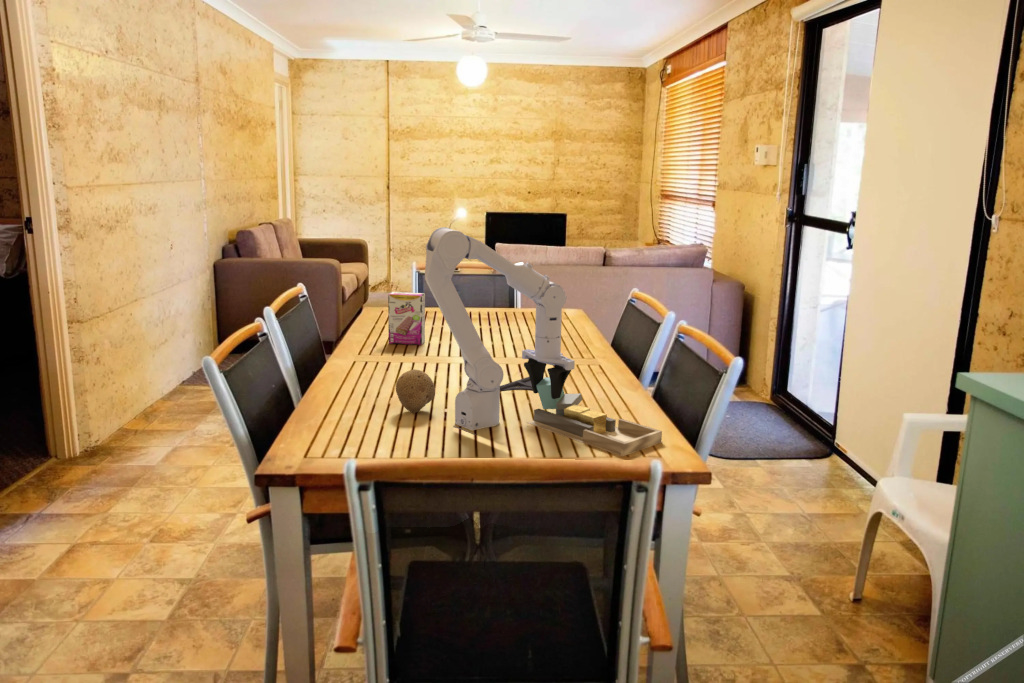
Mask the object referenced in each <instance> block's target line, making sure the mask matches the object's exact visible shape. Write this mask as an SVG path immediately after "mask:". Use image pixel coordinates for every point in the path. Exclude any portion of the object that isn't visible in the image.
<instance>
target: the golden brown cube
mask: <svg viewBox="0 0 1024 683" xmlns="http://www.w3.org/2000/svg"><path fill="white" fill-rule="evenodd" d="M590 410H591V408H590V407H585V406H581V405H579V404H578V405H573V406H570V407H568V408H565V409H564V417H566V418H570V419H573V420H576V421H580V413H583V412H587V411H590Z"/></svg>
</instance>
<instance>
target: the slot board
mask: <svg viewBox="0 0 1024 683" xmlns="http://www.w3.org/2000/svg"><path fill="white" fill-rule="evenodd" d="M616 421H618V423H617V424H616ZM526 424H529V425H531V426H535V427H538V428H540V429H543V430H546V431H549V432H551V433H554V434H557V435H560V436H563V437H566V438H569V439H572V440H574V441H577V442H580V443H583V444H586V445H589V446H591V447H594V448H597V449H600V450H603V451H606V452H609V453H611V454H614V455H617V456H620V457H624V456H627V455H630V454H633V453H636V452H640V451H642V450H644V449H648V448H650V447H653V446H656V445H659V444H661V443H663V441H662V439H663V431H662V430H659V429H656V428H652V427H650V426H647V425H643V424H641V423H636V422H633V421H630V420H627V419H624V418H619V419H618V420H616V419H614V418H612V417H608V416H606V432H605V433H602V434H598V433H595V432H594V426H591V425H588V424H585V423H582V422H579V421H576V420H573V419H570V418H566V417H564V410H558V409H555V413H554V412H552V411H547V410H546V409H541V408H537V409H534V410H533V420H531V421H527V422H526ZM616 425H617V426H616Z"/></svg>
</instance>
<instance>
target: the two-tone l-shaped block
mask: <svg viewBox="0 0 1024 683" xmlns="http://www.w3.org/2000/svg"><path fill="white" fill-rule="evenodd" d="M536 386H537V390H538V393H537V394H538V395H539V399H540V402H541V406H542V408H543V409H542V410H556V409H558V410H564V409H565V408H568V407H570V406H573V405H578V406H579V404H580V403H581V402H582V401H583V400H584V399H583V397H582V393H565V390H564V388H563V389H562V392H561V396H560V398H557V399H552V397H551V382H550V377H547V376H546V377H545V376H544V377H543V379H542V380H541V381H540V382H539V383H538V384H537V385H536Z"/></svg>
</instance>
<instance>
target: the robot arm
mask: <svg viewBox="0 0 1024 683" xmlns="http://www.w3.org/2000/svg"><path fill="white" fill-rule="evenodd" d="M425 251H426V252H425V253H426V254H425V255H426V256H425V259H426V260H425V266H424V268H425V269H424V280H425V282H426V284H427V286H428V289H429V291H430V292H431V294H432V296H433V298H434V301H435V302H436V304H437V306H438V307H439V310H440V311H441V313H442V316H443V318H444V321H446V324H447V326H448V328H449V330H450V331H451V333H452V336H453V338H454V340H455V341H456V343H457V345H458V347H459V349H460V353H461V357H462V359H463V366H464V367H463V368H464V373H465V374H466V376H467V377H468V380H467V383H466V387H465V388H464V390H462V391H459V392H458V393H457V394H456V396H455V400H454V424H455V425H453V427H454V428H457V429H458V430H461V431H464V432H467V433H468V434H469V433H470V434H471V435H475V436H476V435H477V434H476V433H473V432H470V431H475V430H480V429H483V428H484V429H485V428H492V427H495V426H497V425H499V424H500V404H501V403H500V402H501V401H500V400H501V398H500V396H501V394H500V393H501V389H500V386H501V384H502V382H503V380H504V370H503V368H502V367H501V365H500V364H499V363H498V362H496V361H495V360H494V359H493V358H492V354H490V352H489V351H488V349H487V348H486V346H485V345H484V344H483V342H482V340H481V338H480V335H479V333H478V331H477V328H475V325H474V324H473V323H474V322H473V321H472V319H471V317H470V315H469V314H468V311H467V309H466V307H465V305H464V303H463V301H462V299H461V297H460V295H459V293H458V291H457V288H456V286H455V285H454V282H453V280H452V277H453V276H454V273H455V271H456V269H457V267H458V266H459V265H460V263H462V261H463V260H464V259H466V260H478V261H480V263H483V264H484V265H485V266H488V267H490V268H492V269H493V270H495V271H497V273H499V274H501V275H503V276H505V279H506V284H507V285H508V286H509V287H511V288H512V289H514V290H516V292H519V293H521V294H522V295H524V296H526V297H527V298H528V299H531V300H532V301H533V303H535V327H534V328H535V333H534V338H535V340H534V349H528V348H527V349H522V350H521V359H523V360H527V361H526V362H523V367H524V368H525V370H526V371H527V374H528V377H530V380H531V384H532V388H533V390H532V393H533V394H539V393H538V390H537V386H536V385H537V384H538V383H539V382H540V381H541V380H542V379H544V378H545V376H544V375H545V370H546V369H547V374H548V376H549V377H550V382H551V397H552V399H557V398H560V396H561V392H562V389H563V390H564V385H565V383H566V380H567V378H568V376H570V374H571V372H572V371H573V370H575V364H576V363H575V361H576V360H574V359H570V358H568V357H566V356H564V355H563V353H562V352H561V349H562V343H561V342H562V324H563V323H562V318H563V317H562V314H563V310H562V309H563V307H564V306H565V305H566V303H567V299H568V295H566V292H565V290H564V288H563V287H562V286H561V285H560V284H558V283H555V282H553V281H551V280H550V279H551V278H550V276H549V275H547V274H544V275H543V274H541V273H539V271H537V270H535V269H534V268H533V267H534V266H533V264H531V263H529V262H527V261H526V262H523V261H520V262H516V263H513V262H512V261H510V260H508V259H507V258H506V257H504V256H503V255H501V254H500V253H498V252H497V251H496V250H494V249H492V247H490V246H488V244H486V243H484V242H482V241H481V240H479V239H476V238H474V237H472V236H470V235H467V234H465V233H464V232H462V231H460V230H457V229H452V228H450V227H446V226H445V227H443V226H442V227H438V228H436V229H434V230H433V232H432V233H431V235H430V236H429V238H428V240H427V243H426V245H425ZM547 365H550V366H553V367H549V368H546V366H547ZM456 425H457V426H456ZM458 426H460V427H458ZM461 427H462V428H461ZM463 428H464V429H463ZM466 429H467V430H466Z"/></svg>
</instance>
